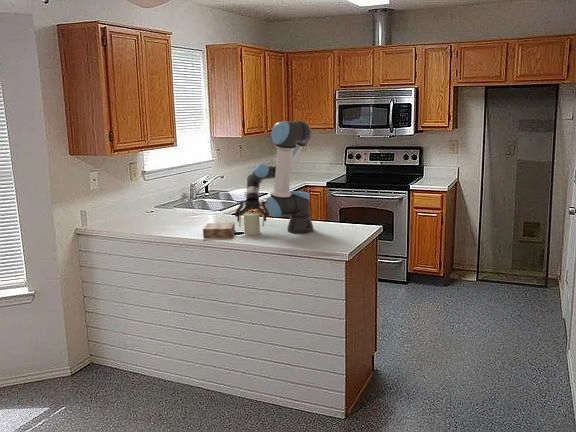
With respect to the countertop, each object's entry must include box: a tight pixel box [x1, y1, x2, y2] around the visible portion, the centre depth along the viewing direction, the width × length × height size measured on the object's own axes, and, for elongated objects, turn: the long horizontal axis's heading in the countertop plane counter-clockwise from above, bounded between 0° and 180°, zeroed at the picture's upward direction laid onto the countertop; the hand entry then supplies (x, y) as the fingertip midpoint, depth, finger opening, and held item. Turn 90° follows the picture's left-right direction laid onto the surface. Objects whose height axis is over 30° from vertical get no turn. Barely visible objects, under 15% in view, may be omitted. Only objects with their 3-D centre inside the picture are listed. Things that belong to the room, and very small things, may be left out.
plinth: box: [202, 222, 236, 239], centre depth 326 cm, size 16×16×5 cm
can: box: [243, 211, 261, 236], centre depth 325 cm, size 9×9×12 cm
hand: (251, 225), depth 323 cm, fingers open, 13 cm apart
